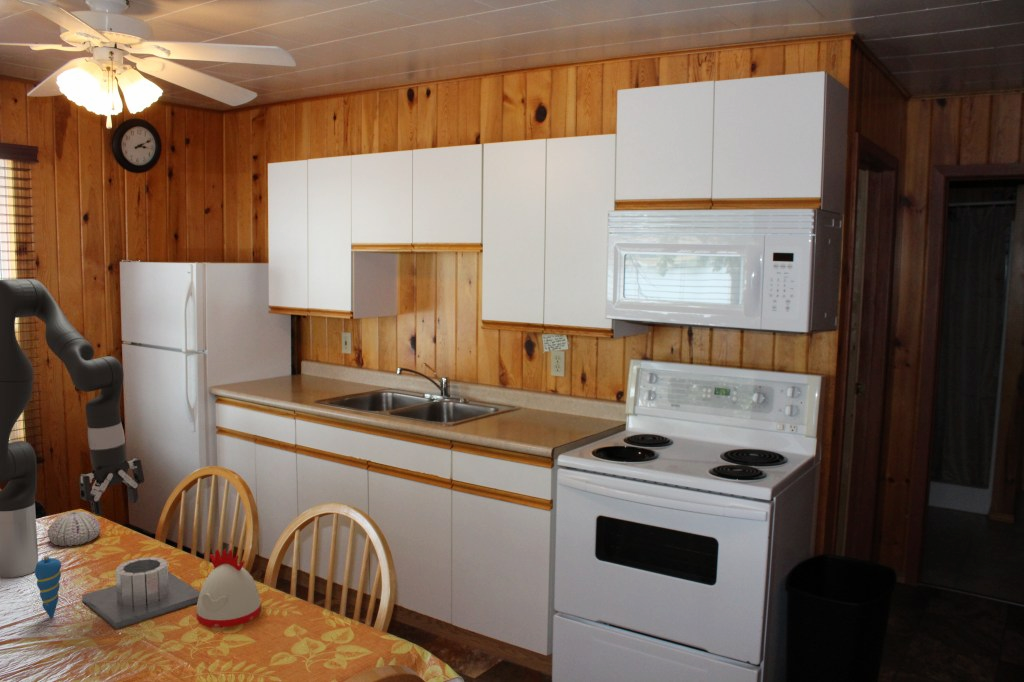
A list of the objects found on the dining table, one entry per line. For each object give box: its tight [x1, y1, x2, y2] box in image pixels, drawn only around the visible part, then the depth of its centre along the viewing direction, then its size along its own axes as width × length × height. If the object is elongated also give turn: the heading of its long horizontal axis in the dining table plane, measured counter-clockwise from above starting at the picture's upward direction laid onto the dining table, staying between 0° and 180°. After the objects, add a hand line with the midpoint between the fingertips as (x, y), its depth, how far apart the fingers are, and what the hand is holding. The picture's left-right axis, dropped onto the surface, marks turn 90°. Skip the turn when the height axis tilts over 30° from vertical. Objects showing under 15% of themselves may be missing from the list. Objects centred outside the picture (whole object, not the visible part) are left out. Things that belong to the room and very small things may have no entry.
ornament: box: [34, 553, 62, 619], centre depth 183 cm, size 5×5×15 cm
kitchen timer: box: [196, 548, 262, 628], centre depth 186 cm, size 14×14×15 cm
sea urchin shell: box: [47, 510, 102, 547], centre depth 230 cm, size 13×14×8 cm
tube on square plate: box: [81, 556, 200, 630], centre depth 192 cm, size 20×20×8 cm
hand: (115, 508), depth 193 cm, fingers open, 8 cm apart
